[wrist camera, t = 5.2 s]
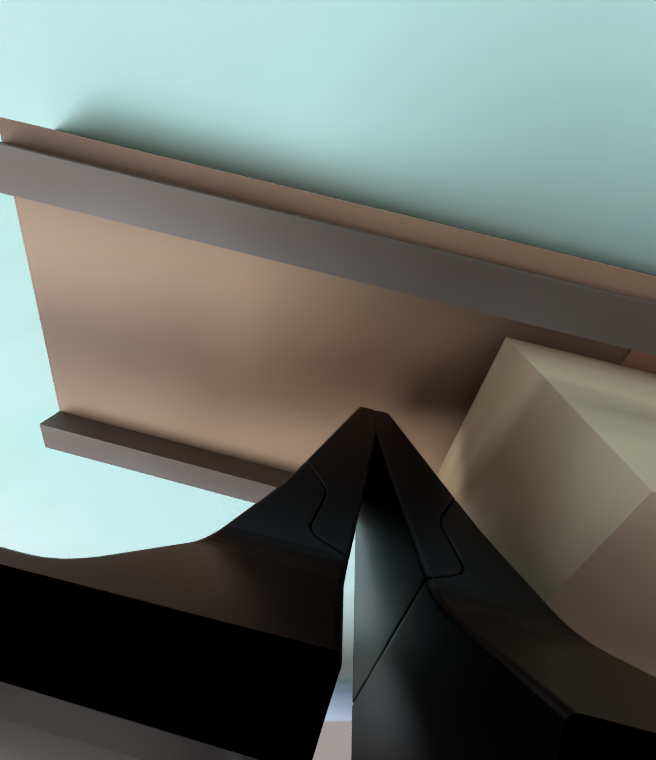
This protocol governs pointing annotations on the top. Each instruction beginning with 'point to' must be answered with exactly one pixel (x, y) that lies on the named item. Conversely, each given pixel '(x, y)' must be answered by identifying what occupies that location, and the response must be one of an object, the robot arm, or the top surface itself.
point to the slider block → (568, 488)
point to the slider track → (275, 312)
